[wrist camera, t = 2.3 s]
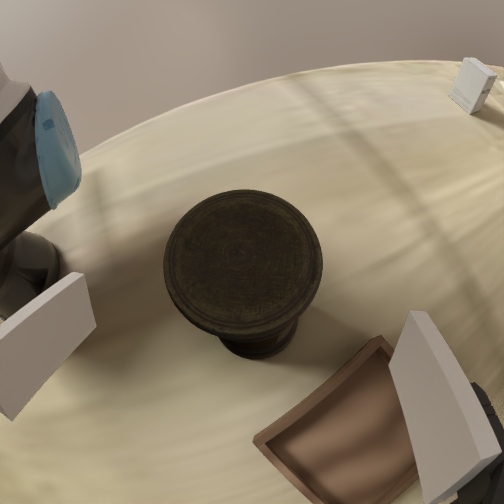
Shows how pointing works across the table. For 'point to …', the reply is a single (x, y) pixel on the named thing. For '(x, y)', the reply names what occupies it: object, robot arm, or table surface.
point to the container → (244, 270)
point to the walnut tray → (346, 436)
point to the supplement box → (472, 85)
